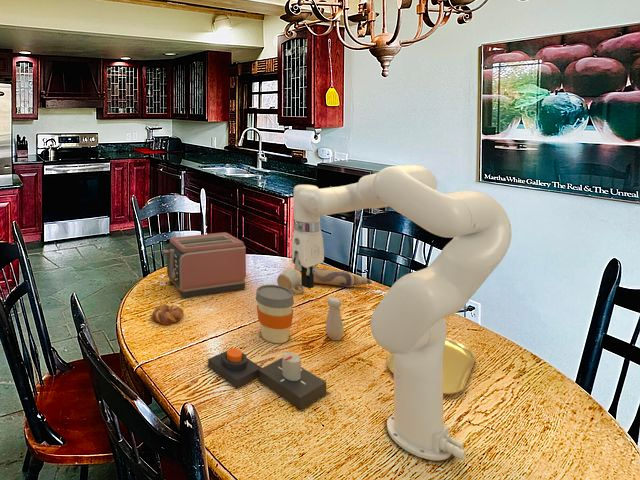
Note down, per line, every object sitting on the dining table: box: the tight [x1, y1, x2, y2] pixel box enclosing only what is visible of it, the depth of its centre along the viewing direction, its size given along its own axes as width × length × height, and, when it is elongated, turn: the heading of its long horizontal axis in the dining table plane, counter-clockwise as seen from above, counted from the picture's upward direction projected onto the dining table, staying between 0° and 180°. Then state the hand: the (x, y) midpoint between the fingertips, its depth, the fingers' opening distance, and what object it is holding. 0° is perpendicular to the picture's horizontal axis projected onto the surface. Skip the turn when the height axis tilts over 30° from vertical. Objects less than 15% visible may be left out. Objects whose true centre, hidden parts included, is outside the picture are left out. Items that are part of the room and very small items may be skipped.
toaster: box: [162, 231, 247, 299], centre depth 177 cm, size 19×36×21 cm, turn 107°
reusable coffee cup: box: [255, 284, 295, 344], centre depth 135 cm, size 13×13×15 cm
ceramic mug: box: [276, 268, 305, 295], centre depth 172 cm, size 11×8×8 cm
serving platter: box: [385, 337, 476, 396], centre depth 119 cm, size 19×35×2 cm, turn 134°
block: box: [207, 350, 262, 389], centre depth 116 cm, size 12×10×4 cm
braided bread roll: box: [151, 304, 184, 326], centre depth 148 cm, size 12×11×4 cm
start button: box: [226, 347, 243, 362], centre depth 116 cm, size 4×4×2 cm
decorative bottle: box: [313, 267, 372, 289], centre depth 177 cm, size 26×8×7 cm, turn 71°
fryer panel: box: [258, 357, 327, 410], centre depth 109 cm, size 14×11×3 cm
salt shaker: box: [324, 296, 345, 341], centre depth 134 cm, size 6×6×13 cm
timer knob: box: [281, 351, 302, 381], centre depth 109 cm, size 5×5×5 cm
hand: (307, 286), depth 120 cm, fingers closed
